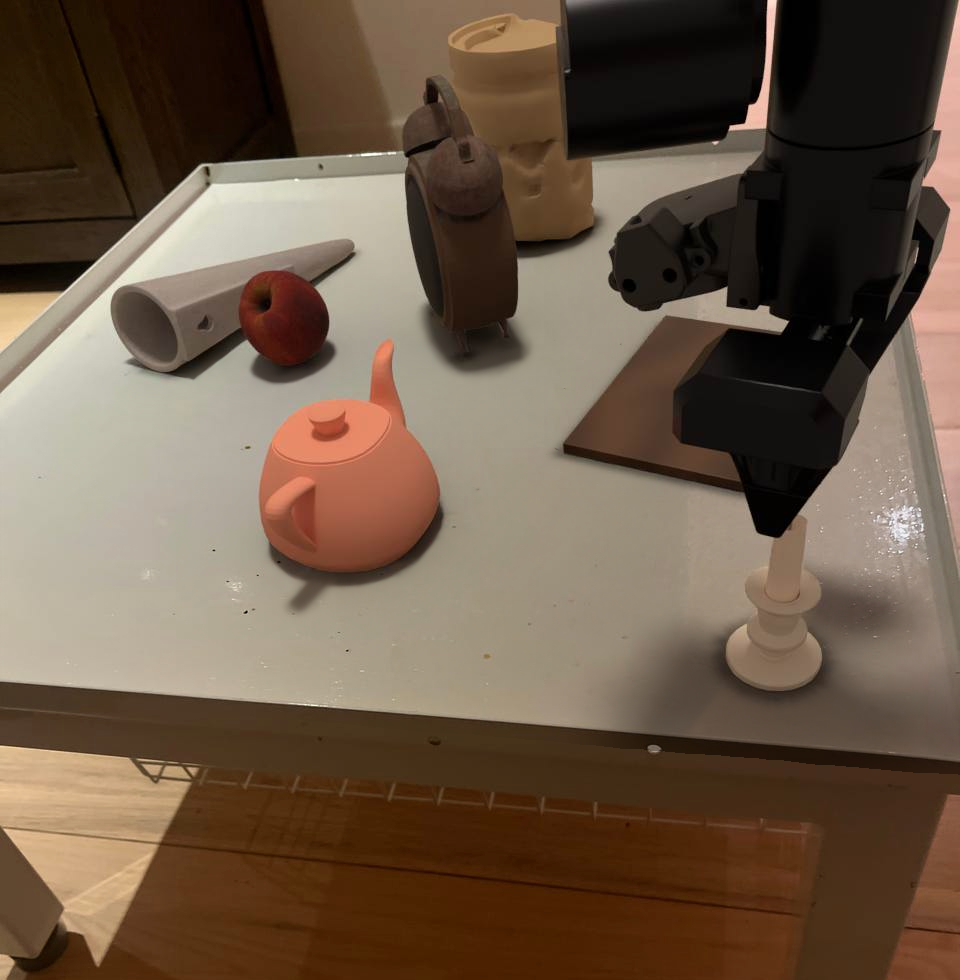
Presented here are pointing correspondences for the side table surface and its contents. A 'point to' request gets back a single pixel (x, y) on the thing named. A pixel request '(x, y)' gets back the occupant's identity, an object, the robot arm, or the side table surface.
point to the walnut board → (655, 409)
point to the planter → (203, 303)
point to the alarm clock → (458, 217)
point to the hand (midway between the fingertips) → (799, 475)
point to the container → (523, 122)
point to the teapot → (348, 481)
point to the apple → (283, 317)
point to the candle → (778, 620)
